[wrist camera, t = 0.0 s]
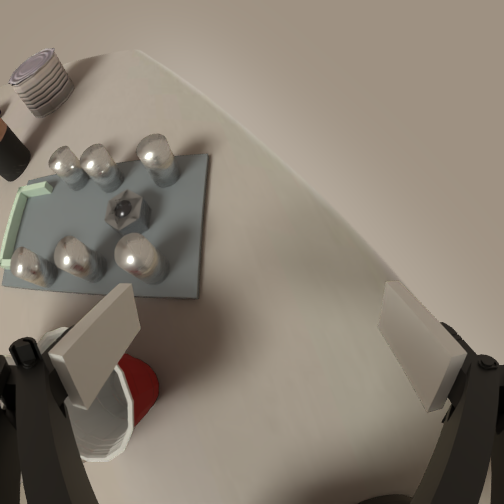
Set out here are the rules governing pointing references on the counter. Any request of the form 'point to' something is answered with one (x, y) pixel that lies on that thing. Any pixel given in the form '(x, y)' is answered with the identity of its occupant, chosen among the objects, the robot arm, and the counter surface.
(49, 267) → the spacers
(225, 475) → the counter surface
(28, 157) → the travel mug
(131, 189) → the board
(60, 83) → the can
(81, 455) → the plastic cup
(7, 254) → the parts pocket
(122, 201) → the nut
